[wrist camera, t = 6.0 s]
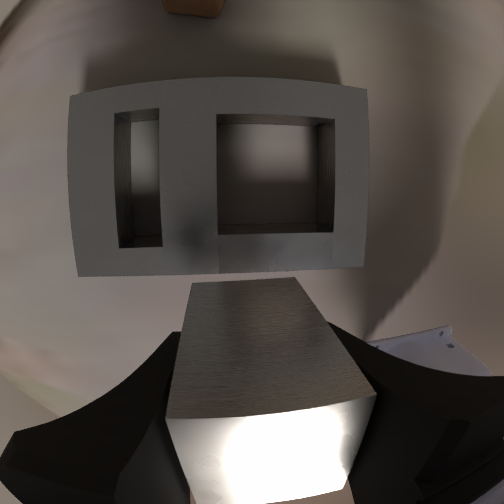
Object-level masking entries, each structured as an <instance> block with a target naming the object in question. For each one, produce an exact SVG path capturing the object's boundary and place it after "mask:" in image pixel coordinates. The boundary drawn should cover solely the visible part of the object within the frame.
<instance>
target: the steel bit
mask: <svg viewBox="0 0 504 504" xmlns="http://www.w3.org/2000/svg"><path fill="white" fill-rule="evenodd" d="M376 396H377V394H376V392H375V391H374V389H373V388H372V386H371V385H370V383H369V382H368V380H367V379H366V377H365V376H364V375H363V373H362V372H361V370H360V369H359V367H358V366H357V364H356V363H355V361H354V360H353V359H352V357H351V356H350V354H349V353H348V351H347V350H346V348H345V347H344V346H343V344H342V343H341V341H340V340H339V338H338V337H337V336H336V334H335V333H334V331H333V330H332V328H331V327H330V326H329V324H328V323H327V321H326V320H325V319H324V317H323V316H322V314H321V313H320V311H319V310H318V309H317V307H316V306H315V304H314V303H313V302H312V300H311V299H310V297H309V296H308V295H307V293H306V292H305V290H304V289H303V288H302V286H301V285H300V283H299V282H298V281H297V279H296V278H295V277H288V278H273V279H257V280H240V281H222V282H203V283H192V286H191V290H190V295H189V299H188V304H187V308H186V313H185V317H184V322H183V327H182V332H181V336H180V341H179V346H178V351H177V356H176V361H175V367H174V372H173V377H172V383H171V388H170V394H169V399H168V405H167V411H166V417H165V419H166V423H167V426H168V429H169V432H170V435H171V438H172V441H173V444H174V447H175V450H176V452H177V455H178V458H179V461H180V463H181V466H182V469H183V471H184V474H185V476H186V479H187V482H188V484H189V486H190V489H191V491H192V494H193V496H194V498H195V500H196V503H197V504H262V503H271V502H279V501H285V500H292V499H297V498H303V497H308V496H313V495H318V494H322V493H327V492H331V491H335V490H339V489H342V488H343V486H344V484H345V482H346V479H347V477H348V475H349V472H350V470H351V468H352V465H353V463H354V460H355V458H356V455H357V453H358V450H359V447H360V445H361V442H362V439H363V436H364V434H365V431H366V428H367V425H368V422H369V419H370V416H371V413H372V410H373V406H374V403H375V400H376Z"/></svg>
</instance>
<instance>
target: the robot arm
mask: <svg viewBox="0 0 504 504" xmlns="http://www.w3.org/2000/svg"><path fill="white" fill-rule="evenodd" d="M327 323H328V324H329V326H330V327H331V328H332V330H333V331H334V333H335V334H336V336H337V337H338V338H339V340H340V341H341V343H342V344H343V346H344V347H345V348H346V350H347V351H348V353H349V354H350V356H351V357H352V359H353V360H354V361H355V363H356V364H357V366H358V367H359V369H360V370H361V372H362V373H363V375H364V376H365V377H366V379H367V380H368V382H369V383H370V385H371V386H372V388H373V389H374V391H375V392H376V394H377V396H376V400H375V403H374V406H373V410H372V413H371V416H370V419H369V422H368V425H367V428H366V431H365V434H364V436H363V439H362V442H361V445H360V447H359V450H358V453H357V455H356V458H355V460H354V463H353V465H352V468H351V470H350V472H349V475H348V480H349V484H350V487H351V491H352V495H353V499H354V503H355V504H504V376H492V374H491V372H490V370H489V369H488V368H487V367H486V366H485V365H484V364H483V363H482V362H481V361H479V360H478V359H477V358H476V357H475V356H473V355H472V354H471V353H470V352H469V351H467V350H466V349H465V348H464V347H463V346H461V345H460V344H459V343H457V342H456V341H455V340H454V339H453V338H451V337H450V336H451V332H452V327H450V326H449V325H448V326H443V327H439V328H435V329H431V330H426V331H422V332H417V333H412V334H407V335H403V336H398V337H392V338H387V339H381V340H375V341H370V342H367V343H366V342H364V341H362V340H360V339H358V338H357V337H355V336H353V335H351V334H350V333H348V332H346V331H344V330H343V329H341V328H339V327H337V326H335V325H333V324H332V323H329V322H327ZM180 336H181V332H172V333H171V334H170V335H169V336H168V337H167V338H166V339H165V340H164V342H163V343H162V344H161V345H160V346H159V347H158V348H157V349H156V350H155V352H154V353H153V354H152V355H151V356H150V357H149V358H148V359H147V360H146V361H145V362H144V363H143V364H142V365H141V366H140V367H139V368H137V369H136V370H135V371H134V372H133V373H132V374H131V375H130V376H129V377H127V378H126V379H125V380H124V381H123V382H121V383H120V384H119V385H117V386H116V387H115V388H113V389H112V390H110V391H109V392H108V393H106V394H105V395H103V396H101V397H100V398H98V399H96V400H94V401H93V402H91V403H89V404H88V405H86V406H84V407H82V408H80V409H78V410H76V411H74V412H72V413H70V414H68V415H66V416H63V417H61V418H58V419H56V420H53V421H51V422H48V423H45V424H41V425H38V426H35V427H31V428H27V429H24V430H20V431H16V432H14V434H13V435H12V437H11V439H10V441H9V442H8V444H7V446H6V448H5V449H4V451H3V453H2V455H1V457H0V481H1V482H2V483H3V484H4V485H5V487H6V488H7V489H8V490H9V491H10V492H11V493H12V494H13V495H14V496H15V497H16V498H17V499H18V500H19V501H20V502H21V503H23V504H190V486H189V484H188V482H187V479H186V476H185V474H184V471H183V469H182V466H181V463H180V461H179V458H178V455H177V452H176V450H175V447H174V444H173V441H172V438H171V435H170V432H169V429H168V426H167V423H166V419H165V417H166V411H167V405H168V399H169V394H170V388H171V383H172V377H173V372H174V367H175V361H176V356H177V351H178V346H179V341H180ZM376 345H377V346H376ZM375 346H376V347H375Z"/></svg>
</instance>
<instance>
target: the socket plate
mask: <svg viewBox="0 0 504 504" xmlns="http://www.w3.org/2000/svg"><path fill="white" fill-rule="evenodd" d="M158 119H159V182H160V208H161V226H162V235H160V236H137V237H134V225H133V211H132V193H131V152H130V143H131V122H138V121H148V120H158ZM217 124H274V125H296V126H311V127H317V212H316V223H290V224H240V225H218V195H217ZM67 164H68V193H69V208H70V219H71V229H72V238H73V246H74V253H75V260H76V266H77V272H78V277H92V276H154V275H193V274H225V273H252V272H276V271H298V270H319V269H338V268H356V267H364V257H365V246H366V233H367V217H368V196H369V120H368V100H367V89H362V88H356V87H351V86H344V85H338V84H331V83H323V82H315V81H306V80H295V79H283V78H265V77H200V78H183V79H170V80H160V81H151V82H143V83H135V84H128V85H122V86H116V87H110V88H105V89H99V90H94V91H90V92H85V93H80V94H76V95H72V96H70V103H69V117H68V145H67Z"/></svg>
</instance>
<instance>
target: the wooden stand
mask: <svg viewBox="0 0 504 504" xmlns="http://www.w3.org/2000/svg"><path fill="white" fill-rule="evenodd" d="M162 1H163V5H164V8H165V11H166V12H169V13H177V14H187V15H196V16H203V17H210V18H216V17H217V16H218V15H219V13H220V11H221V8H222V6H223V3H224V1H225V0H162Z"/></svg>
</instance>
